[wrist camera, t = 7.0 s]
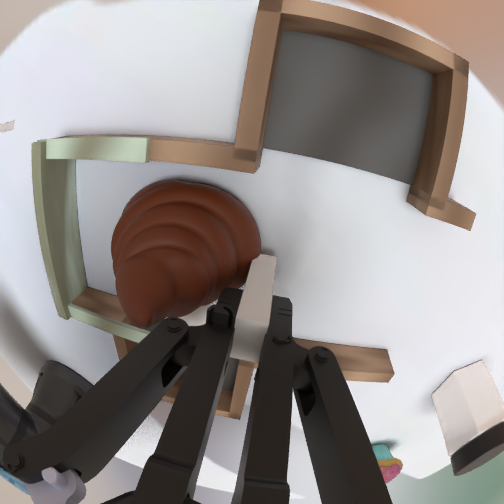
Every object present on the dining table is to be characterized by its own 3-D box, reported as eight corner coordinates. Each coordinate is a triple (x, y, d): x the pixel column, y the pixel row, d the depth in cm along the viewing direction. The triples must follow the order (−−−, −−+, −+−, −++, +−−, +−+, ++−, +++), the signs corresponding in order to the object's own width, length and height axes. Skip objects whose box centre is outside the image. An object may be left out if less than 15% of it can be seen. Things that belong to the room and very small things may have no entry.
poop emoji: (273, 191, 17) (256, 257, 8) (250, 300, 21) (226, 403, 12) (132, 168, 17) (34, 208, 9) (133, 271, 21) (67, 345, 13)
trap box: (98, 353, 27) (82, 375, 24) (81, 33, 12) (49, 25, 9) (345, 409, 26) (347, 437, 22) (474, 85, 11) (507, 82, 7)
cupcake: (337, 456, 33) (337, 518, 22) (374, 436, 29) (380, 506, 18) (373, 459, 33) (376, 514, 23) (408, 439, 30) (418, 500, 19)
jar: (424, 410, 26) (441, 484, 15) (437, 375, 22) (466, 462, 12) (476, 390, 24) (500, 455, 13) (494, 352, 20) (530, 425, 10)
